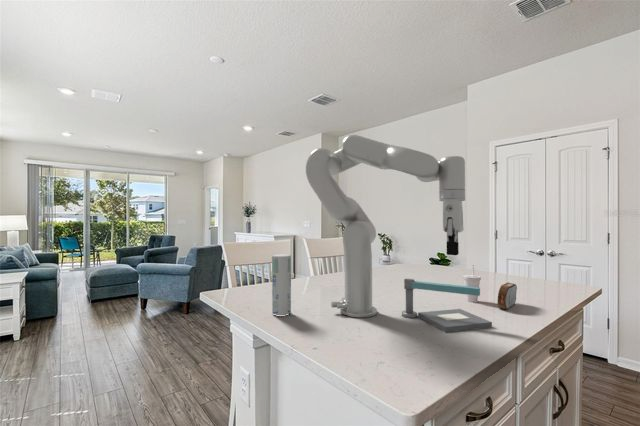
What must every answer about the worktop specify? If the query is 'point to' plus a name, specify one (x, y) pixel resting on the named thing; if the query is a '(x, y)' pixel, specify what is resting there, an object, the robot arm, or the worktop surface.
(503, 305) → the tin
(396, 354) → the worktop surface
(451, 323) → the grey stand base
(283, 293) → the spray can
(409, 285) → the swing bar
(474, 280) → the smoothie
